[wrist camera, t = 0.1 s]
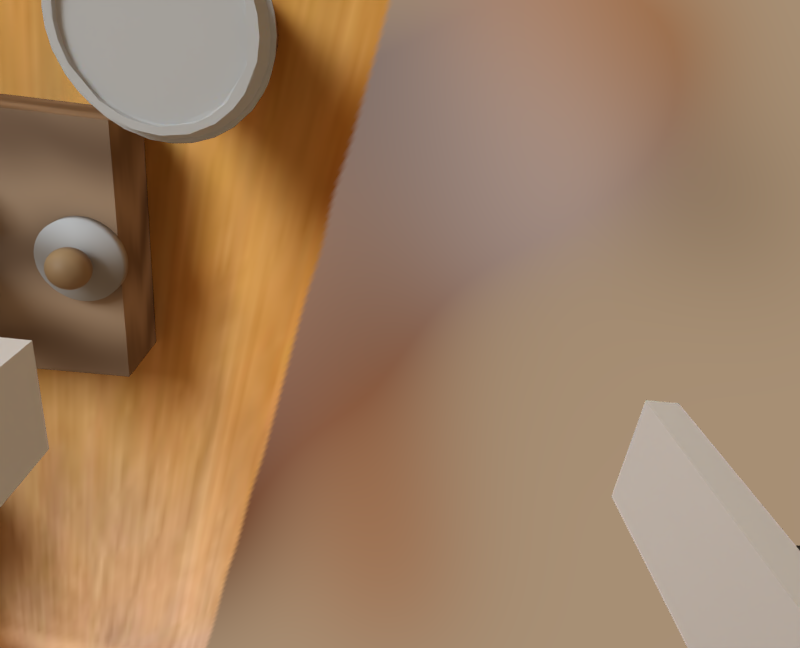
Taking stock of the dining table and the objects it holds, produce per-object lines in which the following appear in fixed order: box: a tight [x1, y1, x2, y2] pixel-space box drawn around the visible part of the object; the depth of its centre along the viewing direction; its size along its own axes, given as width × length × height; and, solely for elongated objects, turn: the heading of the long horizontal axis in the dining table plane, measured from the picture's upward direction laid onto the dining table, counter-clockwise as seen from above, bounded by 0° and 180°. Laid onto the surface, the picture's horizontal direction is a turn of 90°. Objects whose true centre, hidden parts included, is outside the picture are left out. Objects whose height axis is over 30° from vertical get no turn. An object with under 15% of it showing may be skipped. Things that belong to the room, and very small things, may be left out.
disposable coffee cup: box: [42, 0, 278, 143], centre depth 29 cm, size 10×10×12 cm
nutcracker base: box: [0, 94, 156, 377], centre depth 35 cm, size 16×14×8 cm
